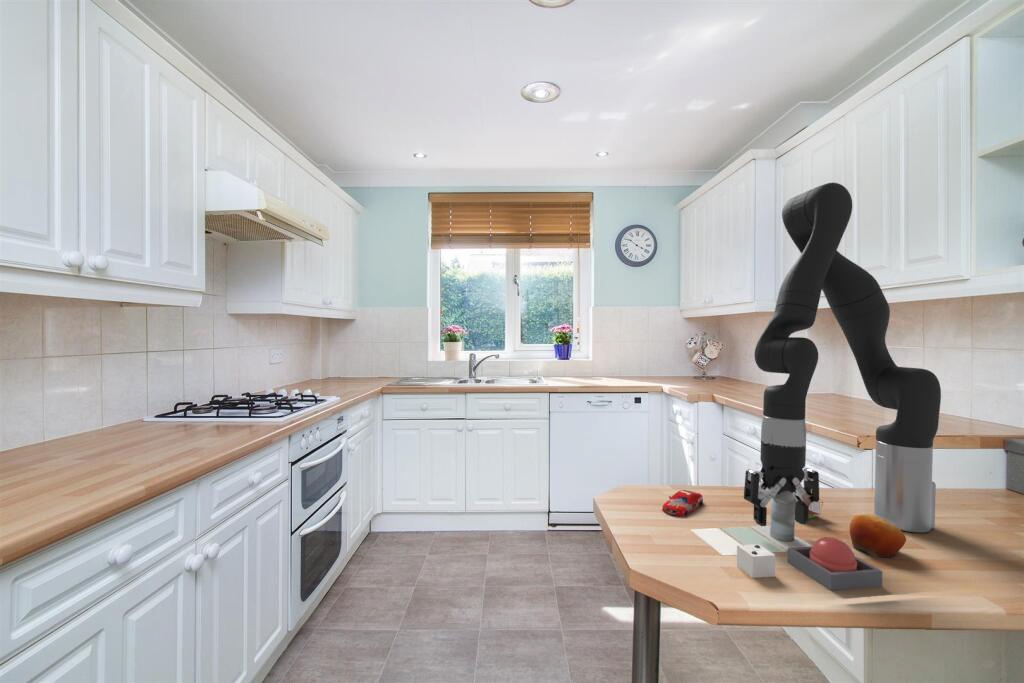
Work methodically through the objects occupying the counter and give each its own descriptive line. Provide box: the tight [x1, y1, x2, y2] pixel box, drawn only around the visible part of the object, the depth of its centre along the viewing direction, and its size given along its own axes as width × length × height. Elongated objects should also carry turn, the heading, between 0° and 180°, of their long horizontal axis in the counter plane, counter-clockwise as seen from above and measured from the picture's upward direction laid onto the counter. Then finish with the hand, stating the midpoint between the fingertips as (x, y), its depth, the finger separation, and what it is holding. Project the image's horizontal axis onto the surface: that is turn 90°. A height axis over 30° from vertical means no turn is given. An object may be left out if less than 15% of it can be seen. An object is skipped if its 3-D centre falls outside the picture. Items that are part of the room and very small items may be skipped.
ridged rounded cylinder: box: [770, 491, 796, 542], centre depth 89 cm, size 4×4×10 cm
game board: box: [690, 524, 813, 557], centre depth 88 cm, size 20×12×1 cm, turn 98°
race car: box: [662, 489, 704, 518], centre depth 104 cm, size 13×5×4 cm, turn 135°
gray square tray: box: [786, 547, 883, 592], centre depth 76 cm, size 9×9×3 cm
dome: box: [809, 536, 857, 572], centre depth 76 cm, size 6×6×6 cm
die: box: [736, 544, 776, 579], centre depth 76 cm, size 4×4×4 cm
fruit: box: [849, 513, 907, 558], centre depth 84 cm, size 8×8×8 cm
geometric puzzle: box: [793, 497, 824, 520], centre depth 100 cm, size 7×7×8 cm
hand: (780, 523), depth 89 cm, fingers open, 8 cm apart
